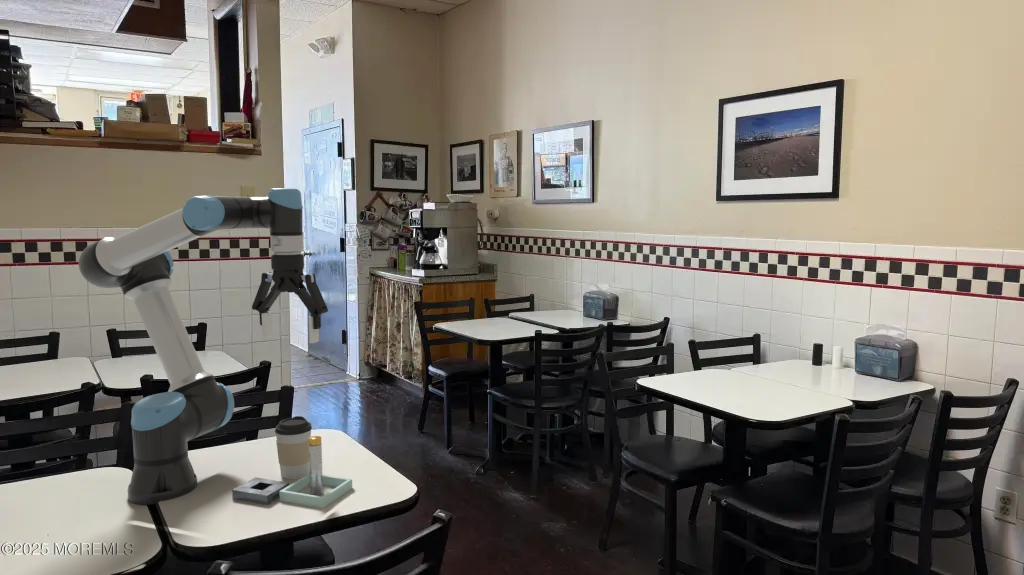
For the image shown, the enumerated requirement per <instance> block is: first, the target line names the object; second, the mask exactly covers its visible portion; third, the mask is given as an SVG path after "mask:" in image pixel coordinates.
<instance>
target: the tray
mask: <svg viewBox="0 0 1024 575" xmlns="http://www.w3.org/2000/svg"><path fill="white" fill-rule="evenodd" d="M322 475H323V486H327V487H335V488H333V489H331V490H330V491H329V492H327V493H325V494H323V495H321V496H315V495H310V493H309V494H307V493H302V492H300V491H301V490H303V489H305V488H306V487H308V486H310V478H309V474H308V475H306V476H304V477H301V478H298V480H296V481H294V482H293V483H290V485H289V486H287V487H286V488H284V489H282V490H281V491H279V495H280V498H279V501H280V502H285V503H292V504H298V505H303V506H311V507H315V508H320V509H321V508H322V509H325V507H327V506H329V505H330V504H331V503H332V502H335V501H336V500H337V499H338V498H340V497H342V496H343V495H344V494H346V493H347V492H349V491H351V489H353V479H352V478H347V477H341V476H334V475H327V474H322Z"/></svg>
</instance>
